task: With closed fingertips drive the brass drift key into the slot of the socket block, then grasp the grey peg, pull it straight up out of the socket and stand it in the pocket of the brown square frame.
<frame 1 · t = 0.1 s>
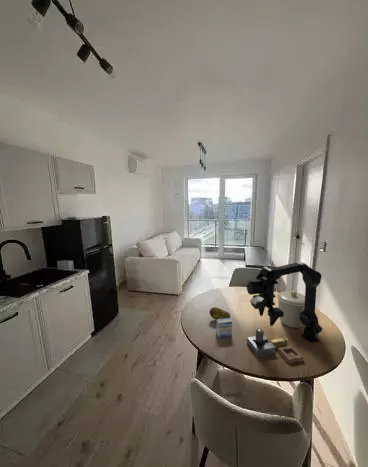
hand: (266, 320, 109), 15 cm above the table, fingers open, 9 cm apart
grey peg: (258, 348, 109), resting in socket block
brown square frame: (290, 355, 104), on the table
canister: (291, 323, 131), on the table
potato: (219, 320, 135), on the table
socket block: (260, 348, 109), on the table
medicine box: (223, 334, 121), on the table
drift key: (278, 342, 111), point 2 cm above the table, slide at 0.0 cm
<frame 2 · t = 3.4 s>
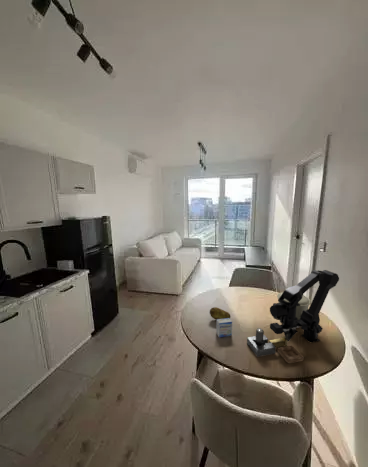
hand: (287, 341, 112), 2 cm above the table, fingers closed
drift key: (277, 342, 111), point 2 cm above the table, slide at 0.7 cm, touching gripper
everything else where it was.
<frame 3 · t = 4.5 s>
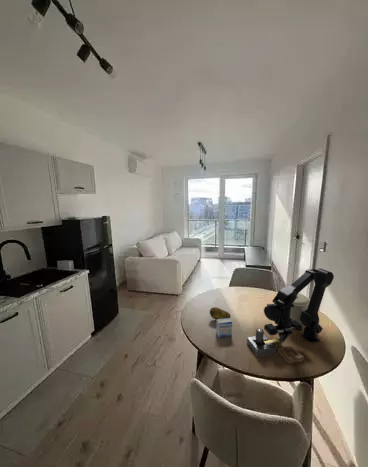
hand: (282, 342, 112), 2 cm above the table, fingers closed
drift key: (272, 343, 110), point 2 cm above the table, slide at 3.9 cm, touching gripper
everything else where it was.
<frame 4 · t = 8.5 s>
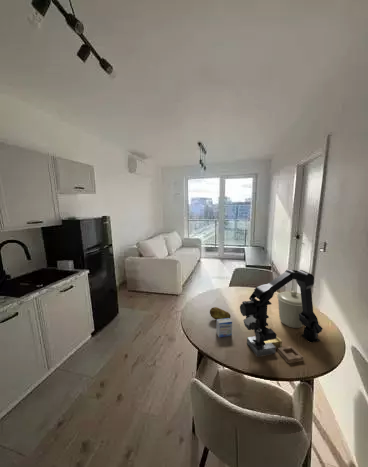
hand: (259, 340, 108), 5 cm above the table, fingers closed on grey peg, 4 cm apart
grey peg: (258, 348, 109), resting in socket block, touching gripper
drift key: (272, 343, 110), point 2 cm above the table, slide at 3.9 cm
everything else where it was.
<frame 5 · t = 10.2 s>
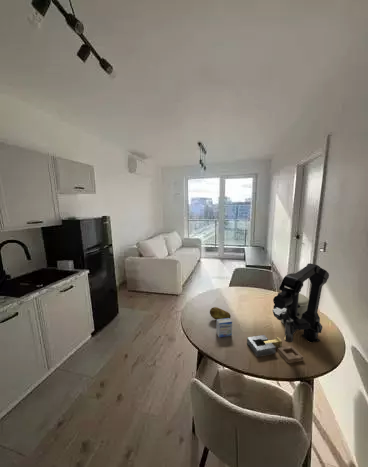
hand: (289, 331, 102), 13 cm above the table, fingers closed on grey peg, 4 cm apart
grey peg: (288, 340, 103), point 8 cm above the table, touching gripper
everything else where it was.
when the fingers open (6 cm above the table, at t = 11.9 s): grey peg stays where it is, resting on brown square frame.
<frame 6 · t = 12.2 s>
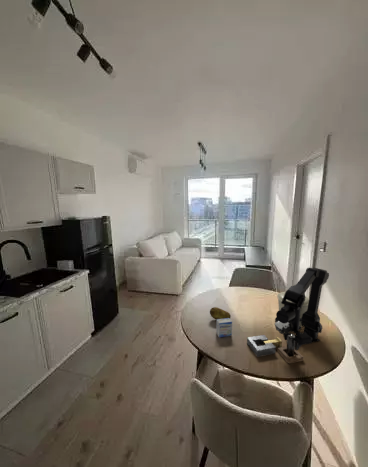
hand: (290, 344, 103), 6 cm above the table, fingers open, 7 cm apart
grey peg: (290, 354, 104), point 1 cm above the table, touching brown square frame
everything else where it was.
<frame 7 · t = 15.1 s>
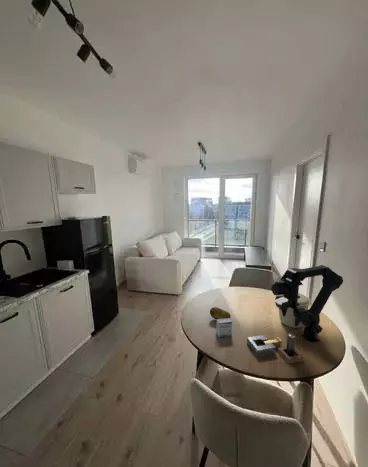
hand: (289, 320, 112), 13 cm above the table, fingers open, 9 cm apart
nothing on the table moved.
at the end: drift key slide at 3.9 cm; grey peg 0.0 cm off-centre on the brown square frame, point 0.6 cm above the brown square frame's base; grey peg tilted 0° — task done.
